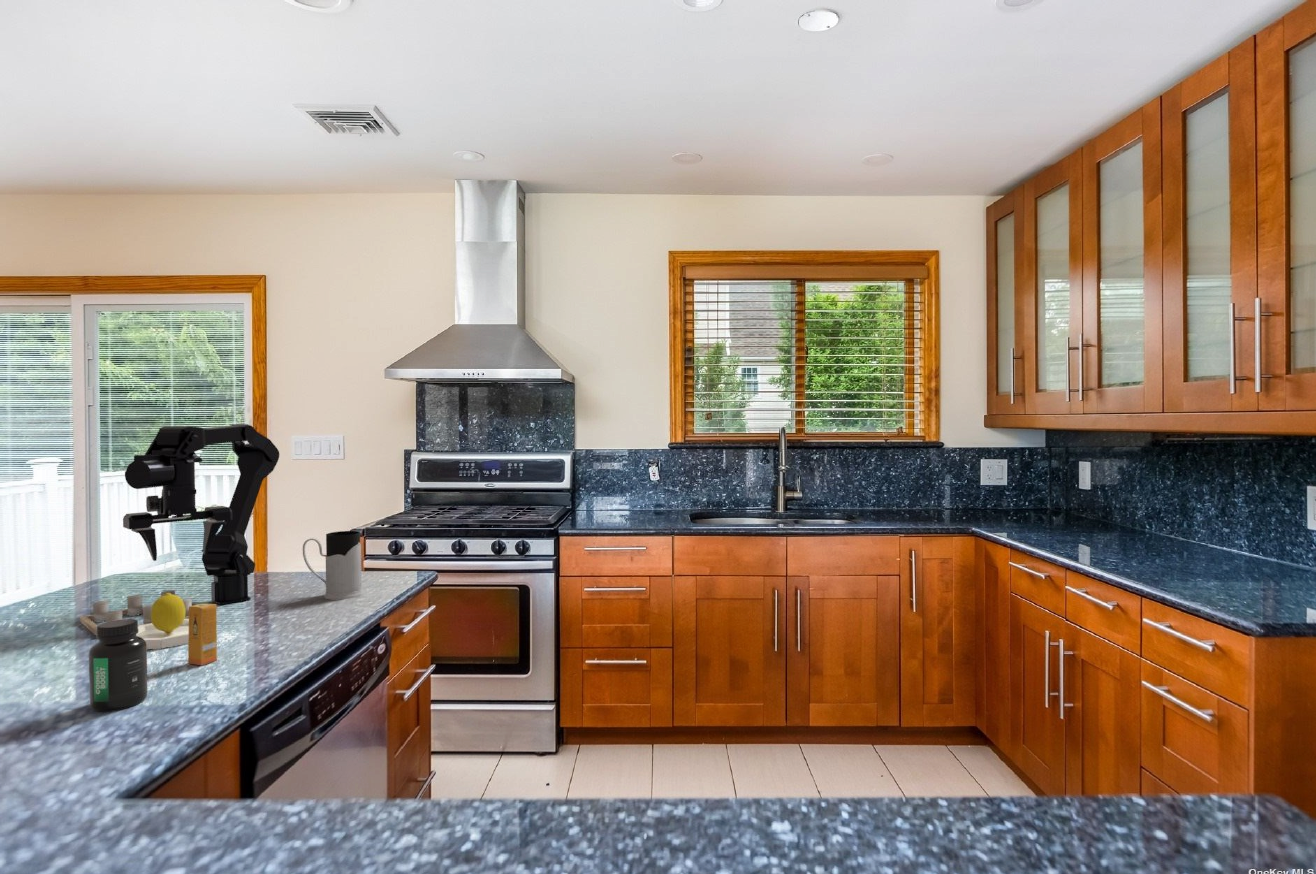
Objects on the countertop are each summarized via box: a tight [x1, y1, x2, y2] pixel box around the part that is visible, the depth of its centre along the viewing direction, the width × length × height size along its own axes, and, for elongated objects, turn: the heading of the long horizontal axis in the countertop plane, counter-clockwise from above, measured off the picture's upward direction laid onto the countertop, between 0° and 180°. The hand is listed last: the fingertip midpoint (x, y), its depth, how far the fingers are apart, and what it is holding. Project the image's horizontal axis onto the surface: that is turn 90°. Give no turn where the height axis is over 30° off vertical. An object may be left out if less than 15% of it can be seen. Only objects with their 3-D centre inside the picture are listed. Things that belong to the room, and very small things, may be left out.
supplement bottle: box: [88, 618, 149, 712], centre depth 104 cm, size 7×7×12 cm
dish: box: [136, 619, 189, 650], centre depth 136 cm, size 14×14×2 cm
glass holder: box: [302, 530, 364, 601], centre depth 170 cm, size 9×14×15 cm, turn 89°
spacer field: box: [79, 589, 193, 637], centre depth 149 cm, size 18×18×4 cm
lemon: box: [151, 593, 186, 634], centre depth 136 cm, size 6×6×8 cm
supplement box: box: [187, 603, 218, 666], centre depth 122 cm, size 3×3×10 cm
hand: (180, 557), depth 150 cm, fingers open, 9 cm apart
